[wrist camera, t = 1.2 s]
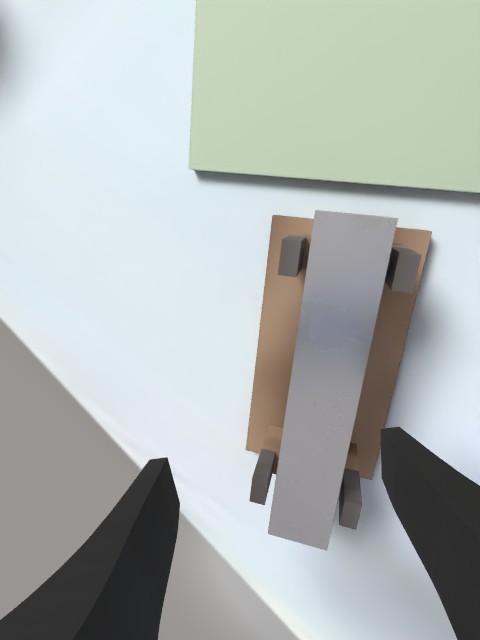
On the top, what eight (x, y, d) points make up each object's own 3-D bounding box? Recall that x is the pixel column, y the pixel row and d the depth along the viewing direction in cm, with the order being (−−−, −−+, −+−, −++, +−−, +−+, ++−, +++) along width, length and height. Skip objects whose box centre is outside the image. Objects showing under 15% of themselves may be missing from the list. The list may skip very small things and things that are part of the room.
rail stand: (427, 230, 19) (464, 239, 14) (370, 469, 24) (380, 548, 18) (275, 214, 21) (253, 216, 15) (249, 441, 26) (224, 506, 20)
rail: (318, 210, 17) (315, 210, 14) (387, 217, 16) (397, 218, 14) (276, 492, 22) (267, 533, 19) (328, 505, 21) (326, 550, 18)
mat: (688, -38, 15) (707, -52, 14) (599, 203, 17) (610, 202, 17) (203, -23, 19) (197, -33, 18) (193, 170, 21) (188, 168, 21)
